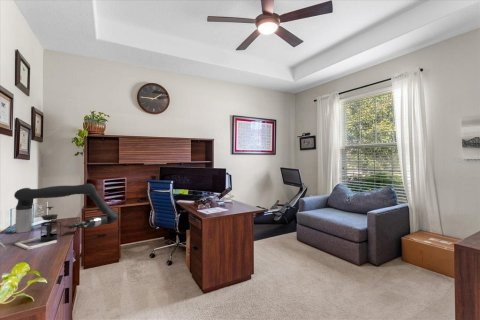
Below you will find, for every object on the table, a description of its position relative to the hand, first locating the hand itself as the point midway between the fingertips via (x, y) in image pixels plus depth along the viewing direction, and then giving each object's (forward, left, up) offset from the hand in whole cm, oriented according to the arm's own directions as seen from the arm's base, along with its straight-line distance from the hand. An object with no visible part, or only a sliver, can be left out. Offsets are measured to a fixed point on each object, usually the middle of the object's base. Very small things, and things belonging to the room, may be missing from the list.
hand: (69, 227), depth 170 cm
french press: (0, -12, -6) cm, 13 cm away
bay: (0, -19, -6) cm, 20 cm away
